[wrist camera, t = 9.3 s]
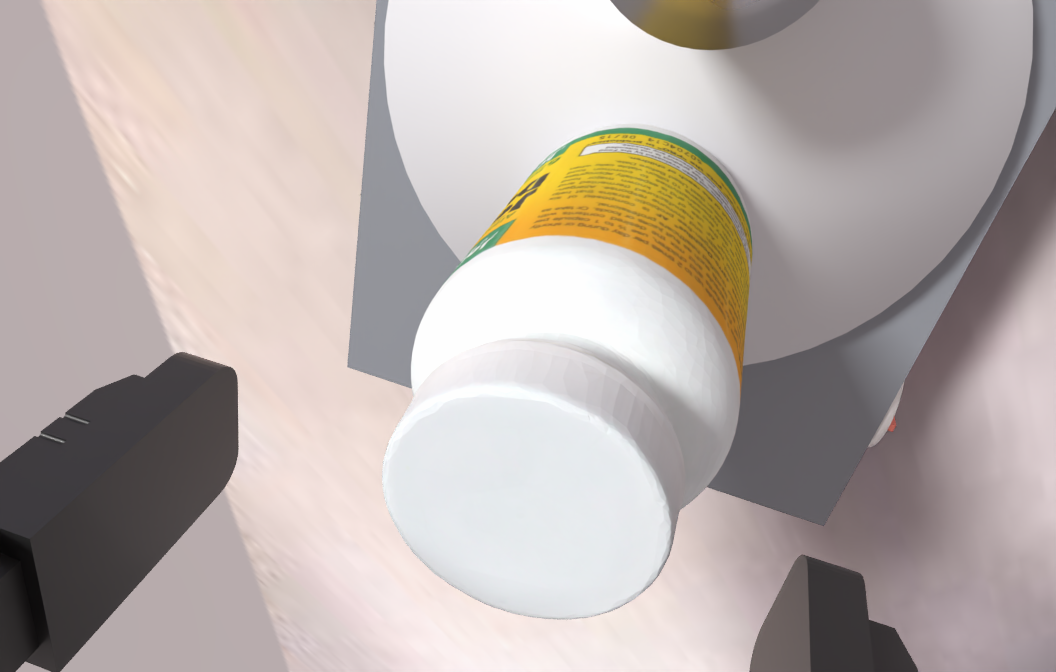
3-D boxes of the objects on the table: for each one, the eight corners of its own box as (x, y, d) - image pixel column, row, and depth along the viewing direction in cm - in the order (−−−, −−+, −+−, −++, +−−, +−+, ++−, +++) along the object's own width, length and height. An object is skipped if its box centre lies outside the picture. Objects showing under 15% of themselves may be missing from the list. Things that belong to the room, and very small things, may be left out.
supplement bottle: (701, 366, 20) (643, 709, 12) (497, 289, 21) (312, 572, 13) (797, 164, 17) (803, 445, 9) (555, 80, 18) (361, 277, 10)
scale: (835, 461, 25) (840, 546, 22) (389, 317, 27) (338, 378, 24) (1227, -275, 15) (1334, -304, 12) (471, -422, 17) (399, -479, 14)
